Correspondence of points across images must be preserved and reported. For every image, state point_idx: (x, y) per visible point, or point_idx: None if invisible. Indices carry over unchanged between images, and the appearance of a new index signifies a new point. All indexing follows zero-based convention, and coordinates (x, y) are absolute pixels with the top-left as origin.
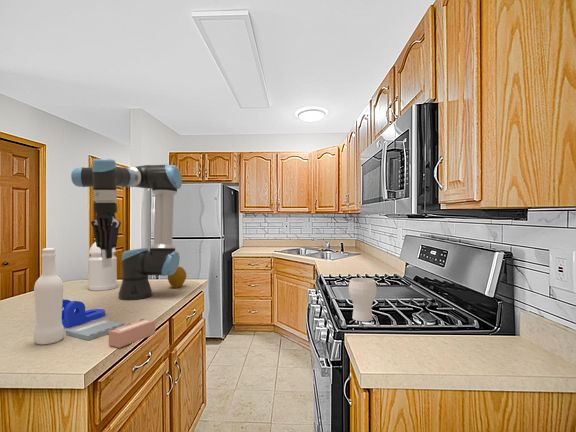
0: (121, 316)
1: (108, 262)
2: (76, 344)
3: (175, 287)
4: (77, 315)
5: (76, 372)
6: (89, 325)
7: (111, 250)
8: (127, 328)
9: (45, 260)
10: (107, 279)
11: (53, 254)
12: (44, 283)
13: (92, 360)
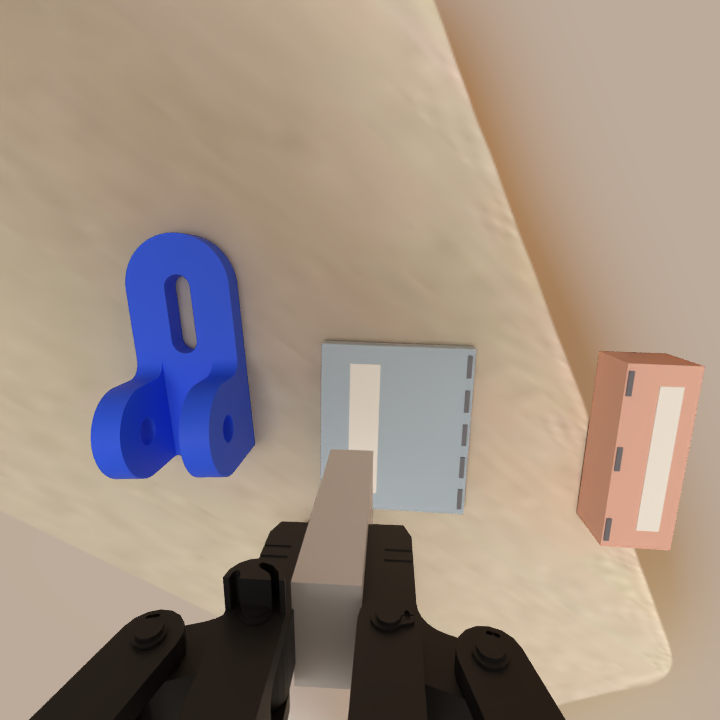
0: (307, 224)
1: (370, 510)
2: (452, 543)
3: None
4: (236, 418)
5: (654, 677)
6: (351, 431)
7: (416, 606)
8: (661, 501)
9: None
10: None
11: None
12: None
13: (628, 611)
